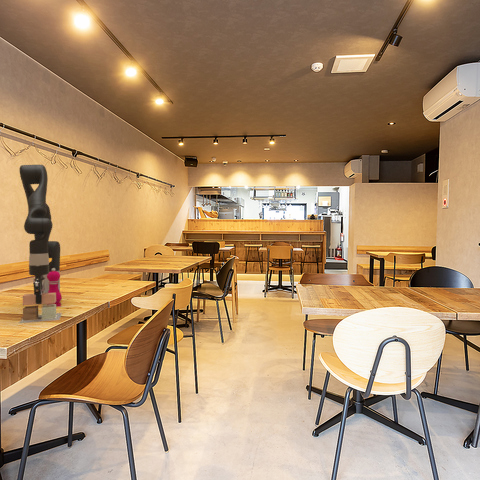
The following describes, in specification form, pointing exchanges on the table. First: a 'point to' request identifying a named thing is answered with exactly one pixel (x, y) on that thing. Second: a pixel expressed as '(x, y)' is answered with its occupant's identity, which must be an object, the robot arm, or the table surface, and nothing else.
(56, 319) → the board
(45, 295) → the lintel
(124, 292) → the table surface
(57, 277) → the pepper mill
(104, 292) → the table surface
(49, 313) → the sage cube
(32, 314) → the walnut cube
